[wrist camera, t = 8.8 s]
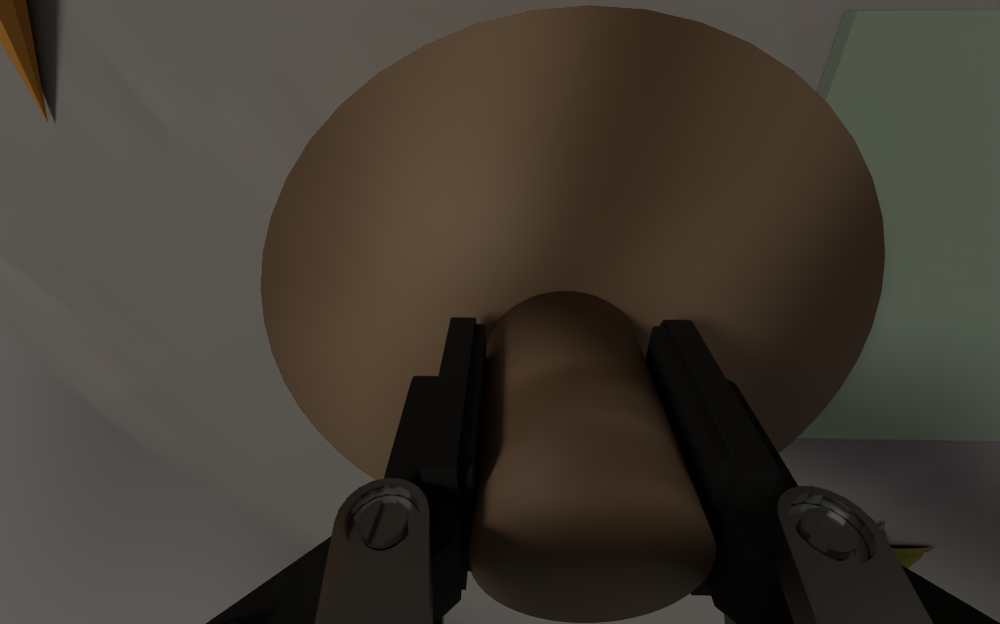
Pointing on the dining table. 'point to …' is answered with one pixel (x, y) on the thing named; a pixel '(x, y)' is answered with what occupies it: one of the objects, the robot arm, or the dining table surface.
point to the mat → (925, 222)
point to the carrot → (21, 45)
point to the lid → (575, 277)
